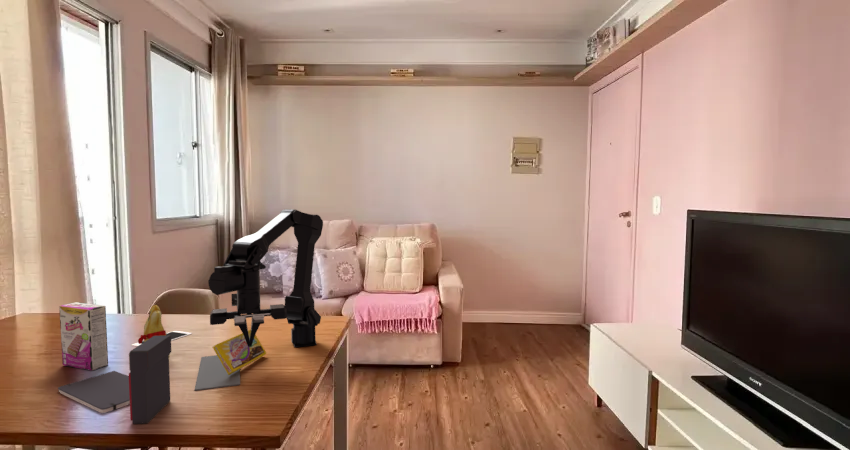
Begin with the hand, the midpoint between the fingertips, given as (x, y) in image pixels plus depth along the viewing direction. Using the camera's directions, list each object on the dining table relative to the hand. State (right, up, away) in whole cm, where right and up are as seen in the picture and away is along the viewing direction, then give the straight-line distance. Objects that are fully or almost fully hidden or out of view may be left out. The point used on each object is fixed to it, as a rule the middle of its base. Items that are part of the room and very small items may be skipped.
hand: (249, 346), depth 131 cm
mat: (-7, -6, -2) cm, 9 cm away
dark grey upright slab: (-11, -8, -26) cm, 30 cm away
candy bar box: (-44, -6, +1) cm, 44 cm away
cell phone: (-36, -4, +24) cm, 44 cm away
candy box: (0, -5, 0) cm, 5 cm away
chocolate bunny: (-29, -5, +7) cm, 30 cm away
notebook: (-27, -8, -16) cm, 32 cm away
